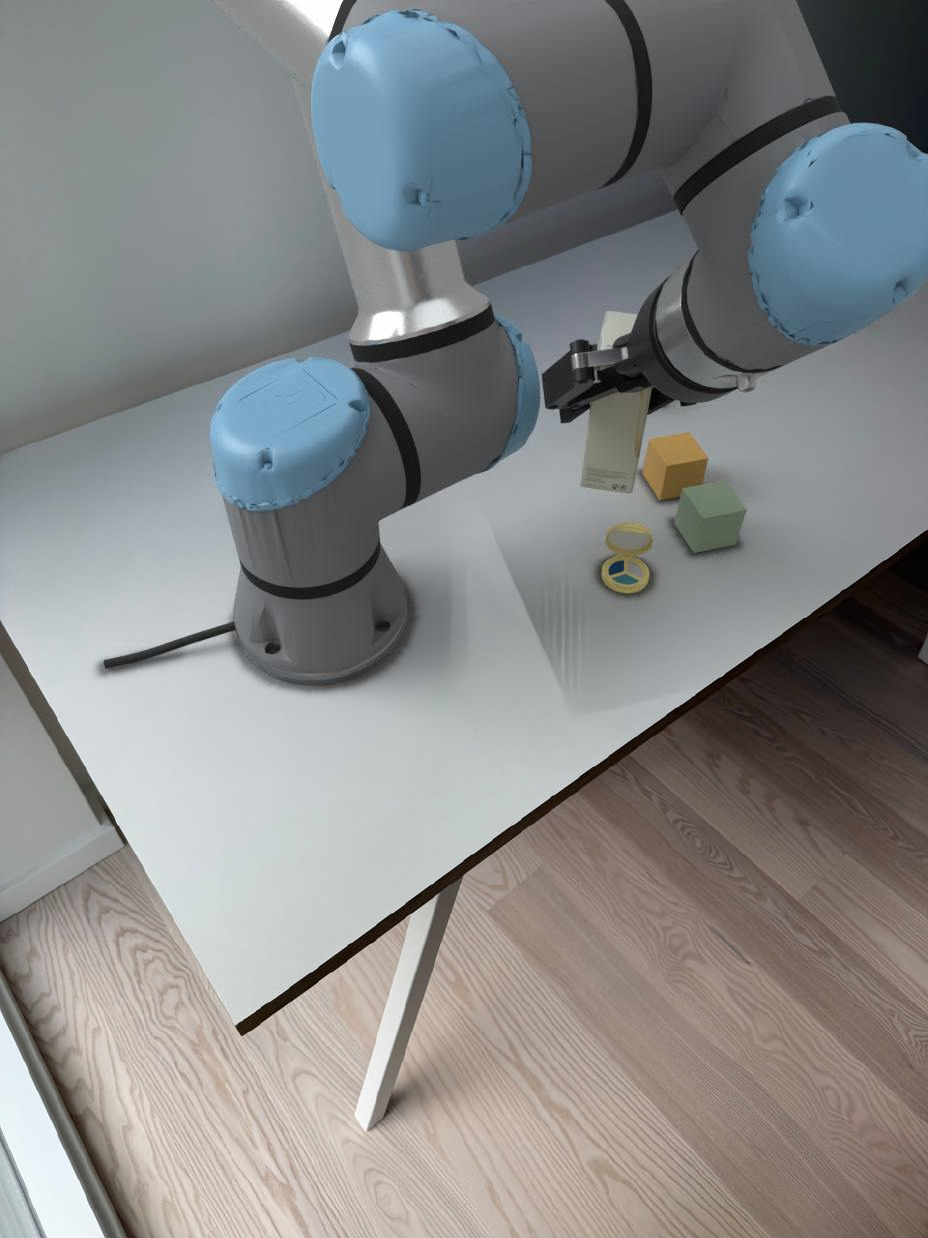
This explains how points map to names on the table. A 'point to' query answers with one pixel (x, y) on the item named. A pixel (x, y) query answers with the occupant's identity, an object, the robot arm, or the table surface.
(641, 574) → the eyeshadow
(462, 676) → the table surface
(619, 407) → the cosmetic box
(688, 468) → the colored toy blocks
